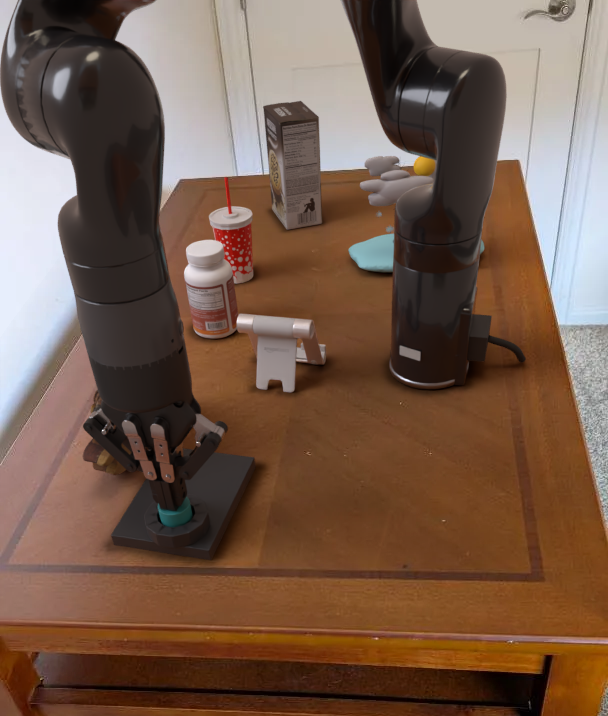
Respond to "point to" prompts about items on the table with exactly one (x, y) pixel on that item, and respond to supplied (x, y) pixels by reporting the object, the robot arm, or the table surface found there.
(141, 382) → the robot arm
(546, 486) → the table surface
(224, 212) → the beverage cup
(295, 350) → the tablet stand
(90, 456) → the wooden carving
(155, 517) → the black push button board
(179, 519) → the tare button
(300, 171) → the coffee box
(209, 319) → the pill bottle
